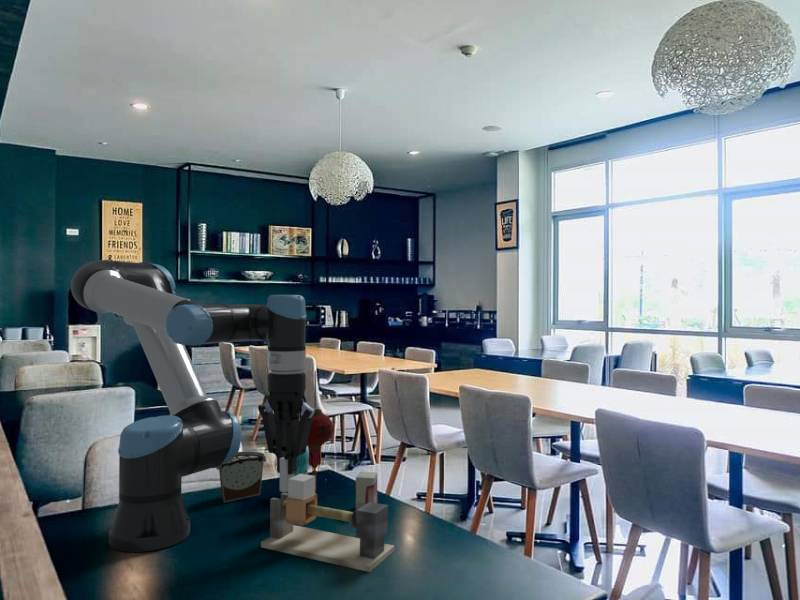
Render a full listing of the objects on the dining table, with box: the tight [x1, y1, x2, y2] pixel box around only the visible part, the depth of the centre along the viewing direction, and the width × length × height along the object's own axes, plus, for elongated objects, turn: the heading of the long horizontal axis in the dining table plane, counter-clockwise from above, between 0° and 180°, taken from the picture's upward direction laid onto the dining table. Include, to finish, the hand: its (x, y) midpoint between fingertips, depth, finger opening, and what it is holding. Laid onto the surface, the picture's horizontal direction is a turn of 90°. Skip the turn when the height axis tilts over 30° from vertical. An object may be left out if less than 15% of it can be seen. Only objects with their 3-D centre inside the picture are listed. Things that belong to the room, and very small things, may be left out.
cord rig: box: [260, 492, 396, 573], centre depth 114 cm, size 24×10×10 cm, turn 64°
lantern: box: [298, 370, 334, 490], centre depth 151 cm, size 10×10×30 cm
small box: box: [355, 471, 378, 509], centre depth 137 cm, size 5×4×8 cm
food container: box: [216, 451, 267, 504], centre depth 146 cm, size 12×6×10 cm, turn 130°
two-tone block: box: [286, 474, 318, 527], centre depth 117 cm, size 4×5×8 cm
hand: (286, 489), depth 119 cm, fingers closed
